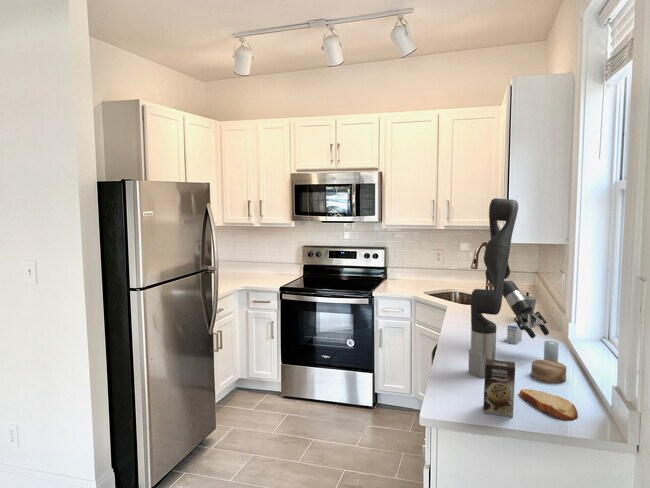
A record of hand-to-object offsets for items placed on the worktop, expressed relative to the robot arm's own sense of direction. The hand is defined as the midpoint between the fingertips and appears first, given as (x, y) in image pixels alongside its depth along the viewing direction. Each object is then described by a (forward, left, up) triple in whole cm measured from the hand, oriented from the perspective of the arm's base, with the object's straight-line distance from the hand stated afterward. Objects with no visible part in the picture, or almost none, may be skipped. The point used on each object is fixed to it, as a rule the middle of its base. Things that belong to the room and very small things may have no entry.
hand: (540, 335), depth 196 cm
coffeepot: (+46, +43, -12) cm, 64 cm away
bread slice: (-34, -28, -12) cm, 45 cm away
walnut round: (-11, -12, -12) cm, 20 cm away
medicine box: (+15, +25, -12) cm, 31 cm away
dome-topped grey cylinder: (0, -5, -12) cm, 13 cm away
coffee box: (-51, -23, -12) cm, 57 cm away
